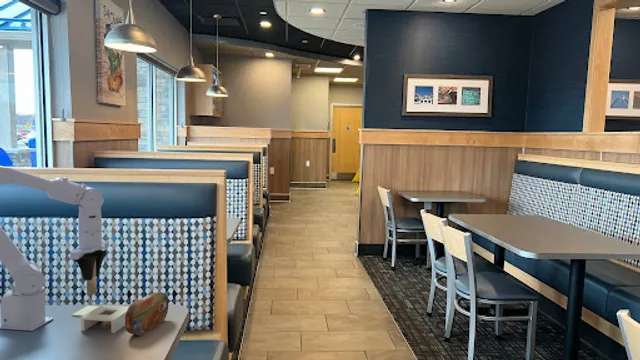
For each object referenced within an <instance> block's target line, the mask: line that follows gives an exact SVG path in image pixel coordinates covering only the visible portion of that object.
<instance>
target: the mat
mask: <svg viewBox="0 0 640 360" xmlns="http://www.w3.org/2000/svg"><path fill="white" fill-rule="evenodd" d="M99 306H100V305H99ZM99 306H98V305H85V307H83V308H81V309H79V310H77V311H76V312H74V313H72V314H71V316H72V317H79V316H81V317H83V316H84V315H86V314H88V313H89V312H91V311H93V310H94V309H96V308H98V307H99ZM81 317H80V318H81Z"/></svg>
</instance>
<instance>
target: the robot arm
mask: <svg viewBox="0 0 640 360" xmlns="http://www.w3.org/2000/svg"><path fill="white" fill-rule="evenodd" d="M8 184H15V185H19V186H23V187H26V188H30V189H35V190H38V191H42V192H45V194H47V196H48V198H49V199H52V200H56V201H59V202H62V203H65V204H70V205H73V206H74V205H75V206H76V205H78V217H77V218H78V246H77V247H76V248H75V249H74V250H72V251H70V252H69V255H70V257H69V258H70V259H69V260H75V263H76V264H77V265H78V267H79V269H80V272H81V275H82V279H83V281H87V280H92V277H93V268H94V263H95V260H96V278H98V277H100V276H99V275H100V271H101V267H102V264H103V261H104V259H105V258H106V255H107V250H105V249H108V248H109V247H110V244H109V243H110V241H109V240H103V236H102V235H103V234H102V232H103V231H102V227H103V226H102V206H103V204H104V201H105V198H103V197H104V196H103V194H102V192H101V191H100V190H98V189H96V188H94V187H91V186H87V184H85V183H81V184H80V183H76V182H74V181H71V180H69V178H68V177H64V176H62V177H55V178H53V179H50V180H49V179H46V178H43V177H40V176H37V175H34V174H31V173H28V172H26V171H25V172H24V171H21V170H18V169H15V168H13V167H9V166H3V165H0V186H2V185H8ZM0 262H1V263H2V264H3V266H4V267H5V269H6V270H7V271H8V273H9V274H10V276H11V277H12V281H13V282H14V287H13V289H10V290H8V291H7V292H5V293H4V294H3V296H2V298H1V301H0V323H1V324H0V329H1V330H2V329H3V330H4V329H5V330H15V331H17V330H18V331H29V332H30V331H35V330H37V329H39V328H40V327H42V326H43V325H45V324H48V323H49V322H51V321H53V320H54V317H52V316H46V295H45V294H46V292H45V291H46V290H45V289H46V288H45V286H44V285H45V281H46V280H45V279H46V278H45V275H44V274H43V272H41V270H40V267H39V265H37V264H36V263H34V262H32V261H30V260H29V259H27V257H26V256H25V255H24V254H23V253H22V251H21V250H20V249H19V248H18V246H16V244H15V243H14V241H13V240H12V238H11V237H9V234H7V233H6V231H5V230H4V229H3V227H1V225H0Z"/></svg>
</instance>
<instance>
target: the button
mask: <svg viewBox="0 0 640 360" xmlns="http://www.w3.org/2000/svg"><path fill="white" fill-rule="evenodd" d="M101 324H102V325H103V326H110V325H111V322H110V321H101Z"/></svg>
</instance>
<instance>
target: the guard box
mask: <svg viewBox="0 0 640 360" xmlns="http://www.w3.org/2000/svg"><path fill="white" fill-rule="evenodd" d="M128 308H129V306H123V305H106V304H101V305H99V307H98V308H96V309H94V310H93V311H91V312H89V313H88V314H86V315H84V316H83V317H80V331H81V332H85V331H86V330H88V329H89V328H91V327H93V325H96V324H97V323H99V322H102V321H110V322H111V325H110V326H103V325H102V323H101V324H100V325H99V326H98V328H106V329H107V328H109V329H110V330H111V334H115V333H117V332H118V331H119V330H121V329H122V328H123V327H126V325H125V315H126V312H127V310H128Z"/></svg>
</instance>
